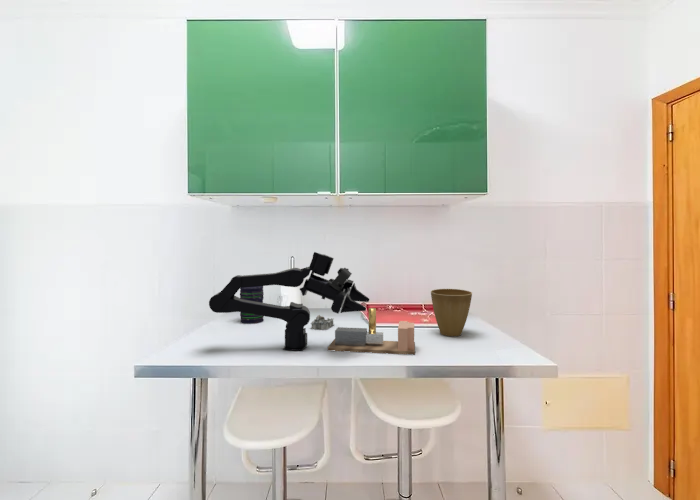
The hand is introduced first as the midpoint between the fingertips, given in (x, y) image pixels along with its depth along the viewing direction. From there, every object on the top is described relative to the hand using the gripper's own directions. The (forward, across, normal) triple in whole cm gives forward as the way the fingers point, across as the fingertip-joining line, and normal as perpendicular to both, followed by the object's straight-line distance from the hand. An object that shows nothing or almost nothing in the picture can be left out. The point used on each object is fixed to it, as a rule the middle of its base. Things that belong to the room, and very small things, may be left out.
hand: (367, 304), depth 130 cm
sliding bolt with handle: (+3, 0, +13) cm, 13 cm away
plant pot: (+33, +21, +7) cm, 40 cm away
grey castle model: (-14, +25, +25) cm, 38 cm away
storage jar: (-44, +30, +37) cm, 64 cm away
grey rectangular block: (0, 0, +15) cm, 15 cm away
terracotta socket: (+17, 0, +8) cm, 19 cm away
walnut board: (+6, 0, +13) cm, 15 cm away
